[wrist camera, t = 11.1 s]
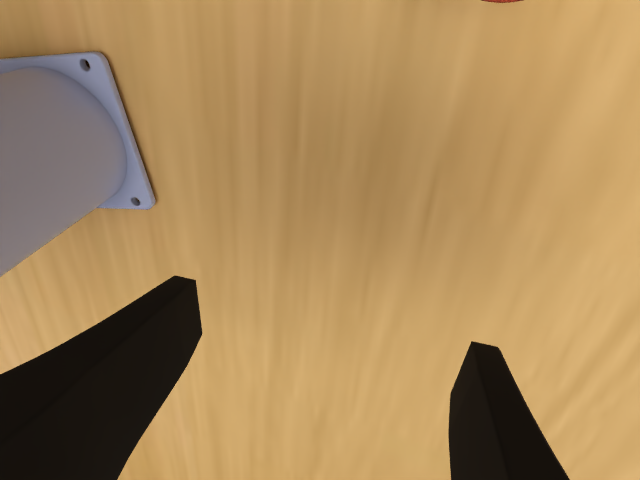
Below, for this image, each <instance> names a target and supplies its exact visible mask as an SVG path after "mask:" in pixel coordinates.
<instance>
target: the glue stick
mask: <svg viewBox="0 0 640 480" xmlns="http://www.w3.org/2000/svg"><path fill="white" fill-rule="evenodd" d="M482 1H488V2H496V3H507V2H516V1H522V0H482Z"/></svg>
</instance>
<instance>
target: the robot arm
mask: <svg viewBox="0 0 640 480" xmlns="http://www.w3.org/2000/svg"><path fill="white" fill-rule="evenodd" d="M85 60H86V61H88V63H89V64H90V68H89V67H88V66H87V65H86V61H85ZM136 198H137V199H138V200H139V201H140V202H139V201H137V200H136ZM154 205H155V197H154V194H153V192H152V189H151V186H150V183H149V180H148V177H147V174H146V171H145V168H144V165H143V162H142V159H141V157H140V154H139V151H138V148H137V145H136V142H135V139H134V136H133V133H132V130H131V127H130V124H129V122H128V119H127V116H126V113H125V110H124V107H123V104H122V101H121V98H120V95H119V92H118V89H117V87H116V84H115V81H114V78H113V75H112V72H111V69H110V66H109V63H108V61H107V59H106V57H105V56H104V55H103V54H101V53H100V52H97V51H91V52H79V53H66V54H54V55H41V56H29V57H16V58H4V59H0V277H1V276H2V275H4V274H5V273H6V272H8V271H9V270H11V269H12V268H13V267H15V266H16V265H18V264H19V263H20V262H22V261H23V260H24V259H26V258H27V257H29V256H30V255H31V254H33V253H34V252H36V251H37V250H38V249H40V248H41V247H43V246H44V245H45V244H47V243H48V242H49V241H51V240H52V239H54V238H55V237H56V236H58V235H59V234H61V233H62V232H63V231H65V230H66V229H67V228H69V227H70V226H72V225H73V224H74V223H76V222H77V221H79V220H80V219H81V218H83V217H84V216H85V215H87V214H88V213H90V212H91V211H92V210H94V209H95V208H115V209H150V208H151V207H153V206H154ZM201 335H202V327H201V319H200V311H199V303H198V295H197V287H196V280H193V279H188V278H184V277H179V276H173V277H172V278H170V279H168V280H167V281H165V282H163V283H162V284H160V285H159V286H157V287H156V288H154V289H152V290H151V291H149V292H148V293H146V294H145V295H143V296H142V297H140V298H138V299H137V300H135V301H134V302H132V303H131V304H129V305H127V306H126V307H124V308H122V309H121V310H119V311H118V312H116V313H114V314H113V315H111V316H110V317H108V318H106V319H105V320H103V321H101V322H100V323H98V324H96V325H95V326H93V327H91V328H89V329H87V330H86V331H84V332H82V333H80V334H79V335H77V336H75V337H73V338H72V339H70V340H68V341H66V342H65V343H63V344H61V345H59V346H57V347H55V348H54V349H52V350H50V351H48V352H46V353H44V354H42V355H40V356H38V357H36V358H34V359H32V360H30V361H28V362H26V363H24V364H22V365H19V366H17V367H15V368H13V369H11V370H9V371H7V372H5V373H2V374H0V480H117V479H118V477H119V475H120V473H121V471H122V469H123V467H124V466H125V464H126V462H127V460H128V458H129V456H130V455H131V453H132V451H133V450H134V448H135V446H136V445H137V443H138V441H139V440H140V438H141V437H142V435H143V433H144V432H145V430H146V429H147V427H148V426H149V424H150V423H151V421H152V420H153V418H154V417H155V415H156V413H157V412H158V410H159V409H160V407H161V406H162V404H163V403H164V401H165V400H166V398H167V397H168V395H169V394H170V392H171V390H172V389H173V387H174V386H175V384H176V383H177V381H178V379H179V378H180V376H181V375H182V373H183V372H184V370H185V368H186V367H187V365H188V363H189V361H190V359H191V357H192V355H193V353H194V351H195V348H196V346H197V344H198V342H199V340H200V338H201ZM449 452H450V468H451V480H570V479H569V478H568V476H567V474H566V473H565V471H564V469H563V468H562V466H561V465H560V463H559V461H558V460H557V458H556V456H555V455H554V453H553V451H552V449H551V448H550V446H549V444H548V443H547V441H546V439H545V437H544V435H543V434H542V432H541V430H540V428H539V426H538V424H537V423H536V421H535V419H534V417H533V415H532V414H531V412H530V410H529V408H528V406H527V404H526V402H525V400H524V398H523V396H522V394H521V392H520V390H519V388H518V386H517V384H516V382H515V380H514V378H513V376H512V374H511V372H510V370H509V368H508V366H507V364H506V361H505V359H504V357H503V355H502V353H501V351H500V350H499V348H498V347H495V346H491V345H486V344H482V343H477V342H473V341H471V344H470V346H469V349H468V351H467V354H466V356H465V359H464V361H463V364H462V366H461V369H460V371H459V374H458V376H457V379H456V381H455V384H454V386H453V389H452V391H451V396H450V413H449Z"/></svg>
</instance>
